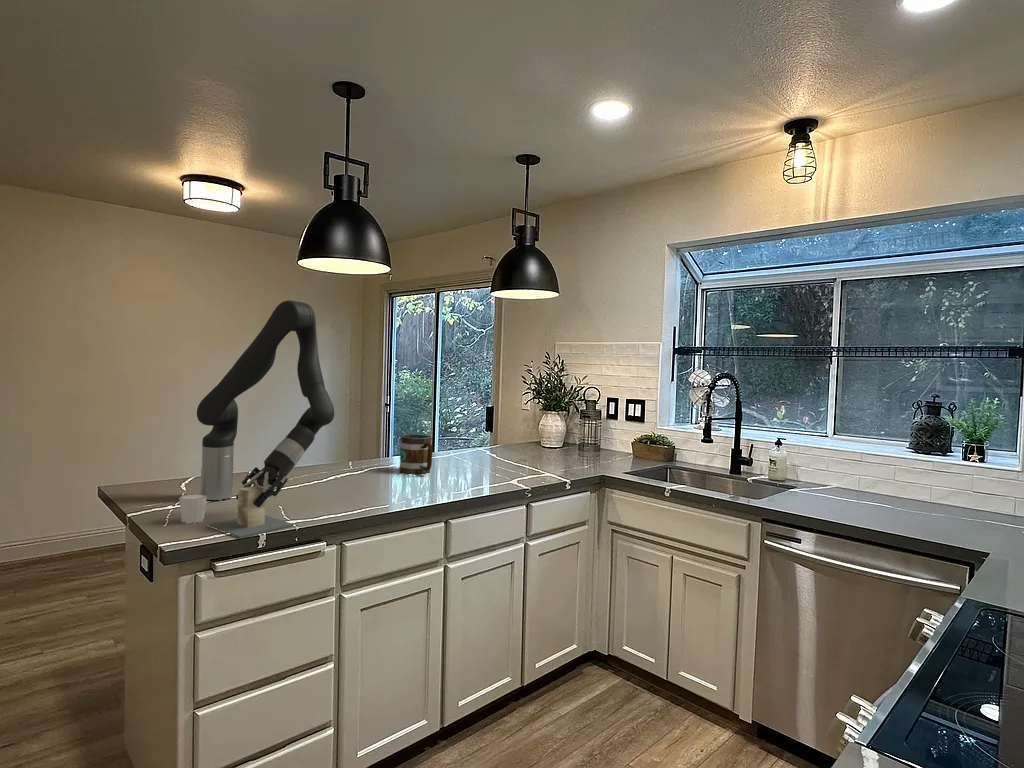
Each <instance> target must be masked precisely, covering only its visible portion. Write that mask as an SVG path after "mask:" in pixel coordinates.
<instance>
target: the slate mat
mask: <svg viewBox="0 0 1024 768" xmlns="http://www.w3.org/2000/svg"><path fill="white" fill-rule="evenodd" d="M207 525H209V526H211V527H214V528H217V529H219V530H222V531H225V532H227V533H230V534H232V535H234V536H235V537H234V536H233V537H234V538H236V537H237V538H236V539H239V540H240V539H245V538H248V537H249V538H250V537H253V536H257V535H262V534H266V533H270V532H275V531H278V530H283V529H286V528H292V527H294V523H291V522H287V521H285V520H282V519H280V518H276V517H273V516H269V515H266V514H265V522H264V524H262V525H258V526H253V527H249V528H247V527H244V526H242V525H239V524H238V517H237V518H233V519H232V518H231V519H227V520H223V521H218V522H211V523H207Z"/></svg>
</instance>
